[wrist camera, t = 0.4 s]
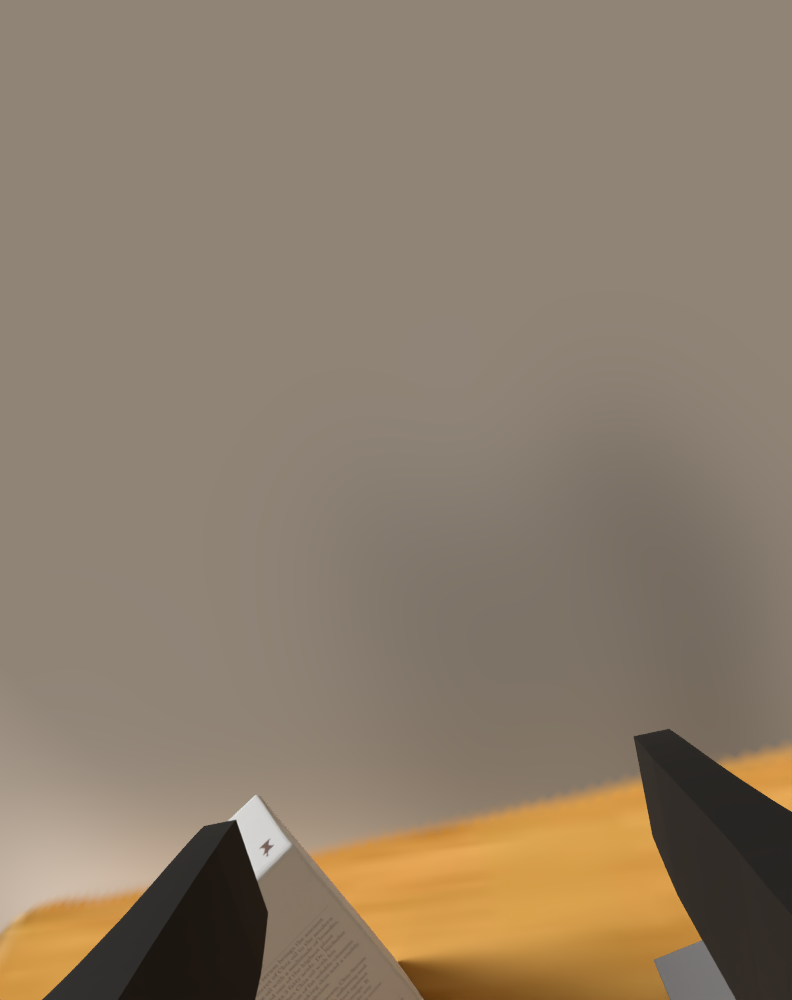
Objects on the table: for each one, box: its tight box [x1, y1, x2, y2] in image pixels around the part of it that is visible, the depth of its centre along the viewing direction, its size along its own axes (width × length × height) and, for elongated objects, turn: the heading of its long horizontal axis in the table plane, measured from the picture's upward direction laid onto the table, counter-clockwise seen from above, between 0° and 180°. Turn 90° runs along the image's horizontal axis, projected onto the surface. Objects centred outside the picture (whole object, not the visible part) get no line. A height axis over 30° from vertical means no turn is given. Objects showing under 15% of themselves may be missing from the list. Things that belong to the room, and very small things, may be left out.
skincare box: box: [228, 795, 424, 1000], centre depth 27 cm, size 6×4×12 cm
